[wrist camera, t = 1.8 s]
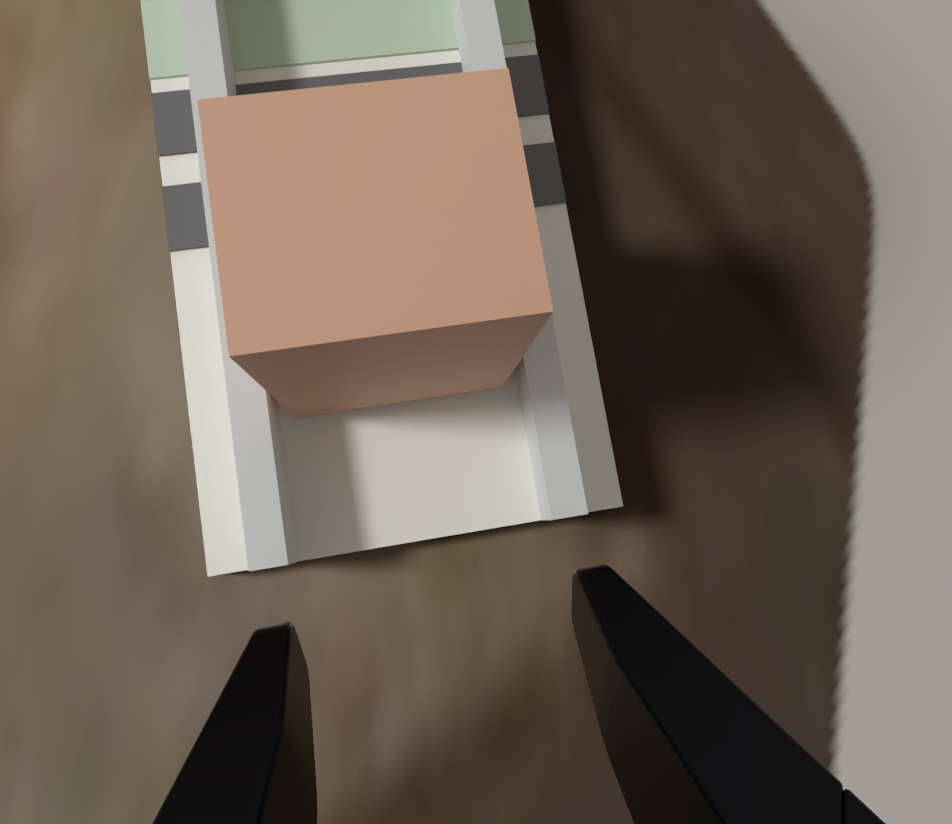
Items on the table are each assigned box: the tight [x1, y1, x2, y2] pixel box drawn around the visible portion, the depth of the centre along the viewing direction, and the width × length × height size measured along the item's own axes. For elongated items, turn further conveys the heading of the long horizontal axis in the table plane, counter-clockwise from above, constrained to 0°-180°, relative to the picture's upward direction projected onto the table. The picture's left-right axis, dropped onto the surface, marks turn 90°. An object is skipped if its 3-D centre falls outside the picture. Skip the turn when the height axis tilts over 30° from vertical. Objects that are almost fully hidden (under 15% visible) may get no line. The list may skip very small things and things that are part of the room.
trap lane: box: [140, 0, 623, 577], centre depth 20 cm, size 21×12×7 cm, turn 10°
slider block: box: [197, 68, 553, 418], centre depth 18 cm, size 5×6×8 cm
